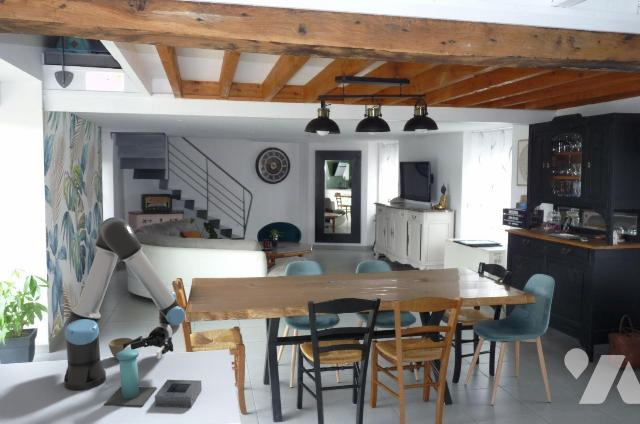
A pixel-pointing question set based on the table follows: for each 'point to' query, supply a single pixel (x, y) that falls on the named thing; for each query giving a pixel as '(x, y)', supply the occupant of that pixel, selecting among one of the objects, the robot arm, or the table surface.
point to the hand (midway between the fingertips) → (140, 355)
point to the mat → (137, 401)
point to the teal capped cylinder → (129, 373)
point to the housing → (178, 393)
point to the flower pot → (117, 345)
